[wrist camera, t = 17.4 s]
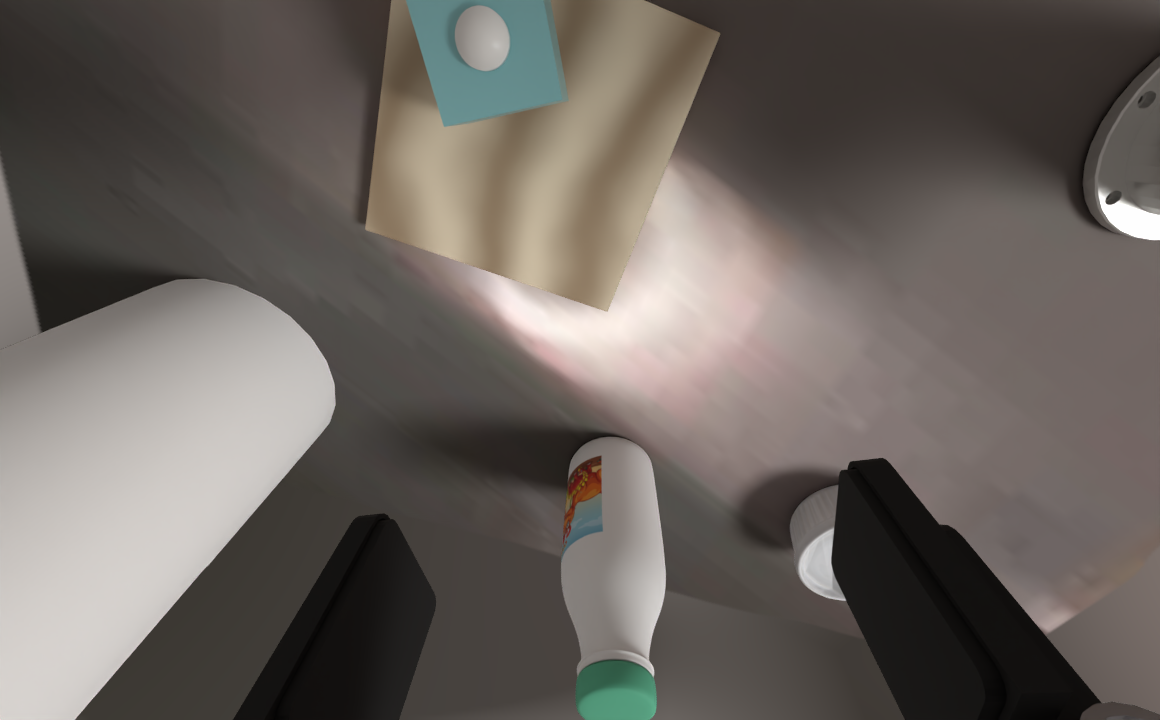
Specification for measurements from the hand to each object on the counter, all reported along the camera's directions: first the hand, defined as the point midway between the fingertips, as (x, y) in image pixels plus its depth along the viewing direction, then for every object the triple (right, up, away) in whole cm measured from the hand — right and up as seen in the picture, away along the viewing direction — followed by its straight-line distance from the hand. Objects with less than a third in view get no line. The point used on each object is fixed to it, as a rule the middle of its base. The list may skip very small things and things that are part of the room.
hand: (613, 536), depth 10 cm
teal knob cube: (-5, +20, +15) cm, 26 cm away
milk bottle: (+2, -6, +34) cm, 34 cm away
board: (-4, +18, +20) cm, 27 cm away
